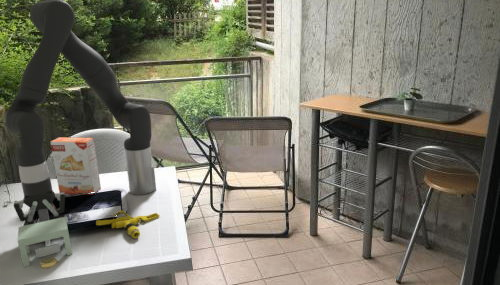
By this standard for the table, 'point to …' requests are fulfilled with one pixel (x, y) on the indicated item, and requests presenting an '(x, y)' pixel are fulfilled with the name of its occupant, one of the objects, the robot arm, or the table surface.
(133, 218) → the sprinkler
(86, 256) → the table surface
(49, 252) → the block
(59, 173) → the cracker box
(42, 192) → the robot arm
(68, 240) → the footstool
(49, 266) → the token
